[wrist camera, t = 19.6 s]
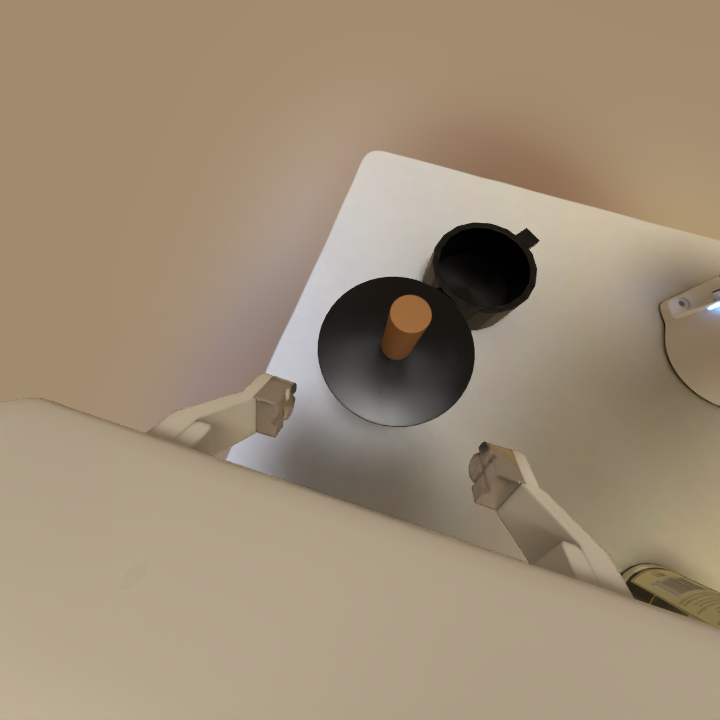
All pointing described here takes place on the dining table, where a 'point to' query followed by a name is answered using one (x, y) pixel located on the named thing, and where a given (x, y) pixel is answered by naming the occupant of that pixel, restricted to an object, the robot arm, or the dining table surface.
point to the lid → (396, 351)
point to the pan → (483, 271)
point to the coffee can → (673, 592)
